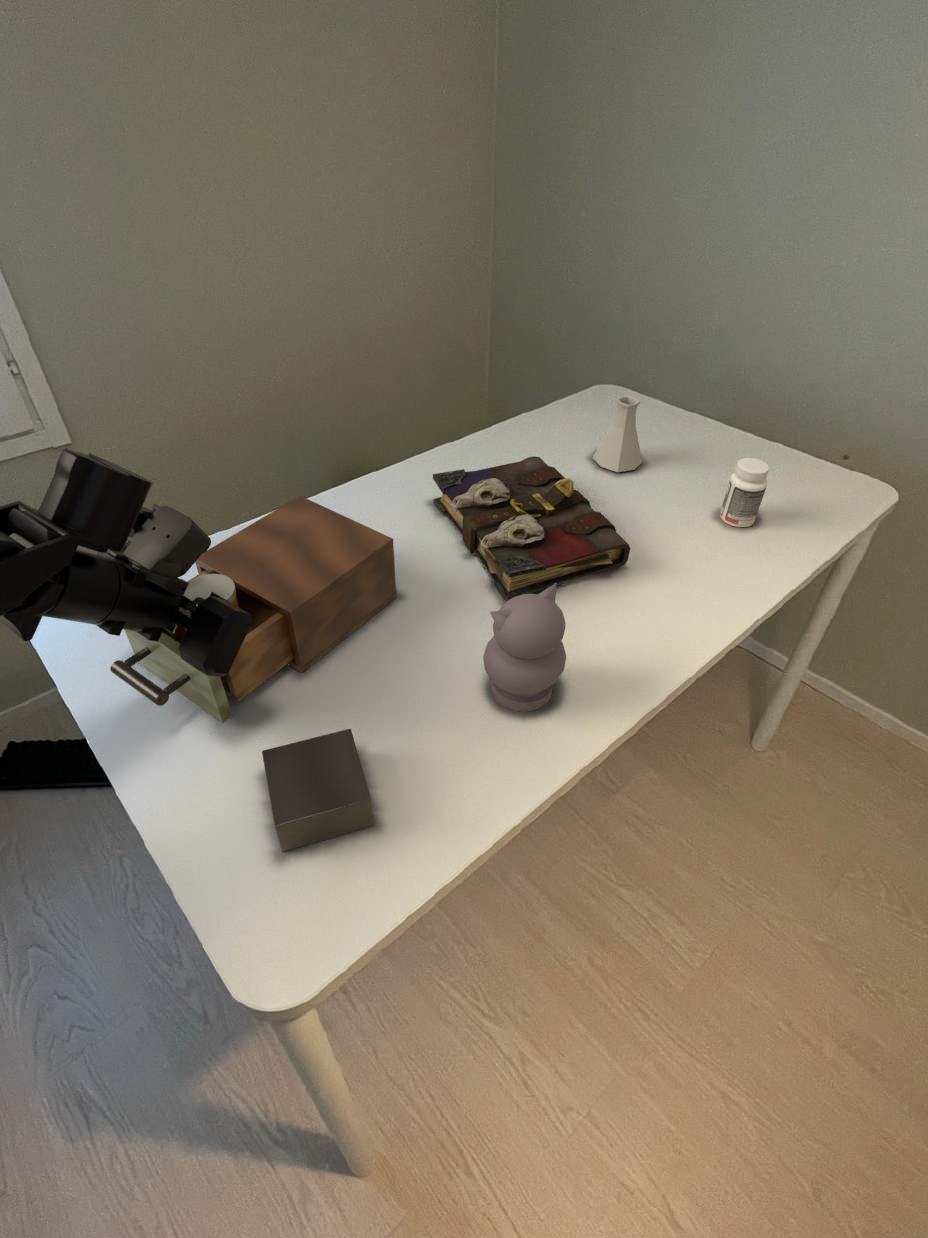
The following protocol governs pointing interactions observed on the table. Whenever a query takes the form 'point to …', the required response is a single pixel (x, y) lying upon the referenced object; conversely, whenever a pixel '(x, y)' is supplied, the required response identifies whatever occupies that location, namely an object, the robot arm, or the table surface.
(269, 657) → the drawer
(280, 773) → the stand
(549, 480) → the book
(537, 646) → the cat figurine
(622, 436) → the flask
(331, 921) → the table surface
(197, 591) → the amber jar
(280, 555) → the cabinet
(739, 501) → the pill bottle
